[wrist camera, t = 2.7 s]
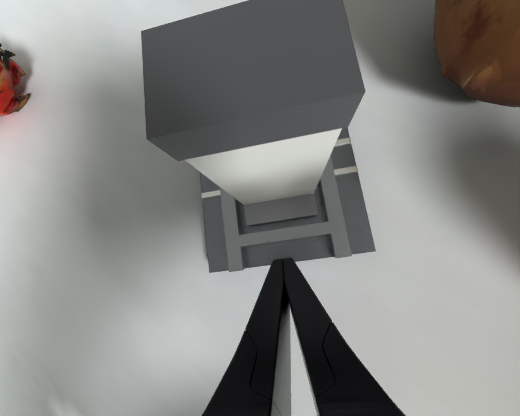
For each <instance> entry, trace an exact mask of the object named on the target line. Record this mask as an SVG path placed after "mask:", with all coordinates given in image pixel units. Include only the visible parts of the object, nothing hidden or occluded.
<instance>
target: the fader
mask: <svg viewBox="0 0 520 416" xmlns="http://www.w3.org/2000/svg"><path fill="white" fill-rule="evenodd" d="M141 37H142V56H143V76H144V95H145V115H146V134H147V140H149V141H150V142H152V143H153V144H155V145H156V146H157V147H159V148H160V149H162V150H163V151H164V152H166V153H167V154H169V155H170V156H172V157H173V158H174V159H176V160H177V161H181V160H185V161H186V162H187V163H189V164H190V165H191V166H193V167H194V168H195V169H197V170H198V171H199V172H201V173H202V174H203V175H205V176H206V177H207V178H209V179H210V180H211V181H213V182H214V183H215V184H217V185H218V186H219V187H221V188H222V189H223V190H225V191H226V192H227V193H229V194H230V195H231V196H233V197H234V198H235V199H237V200H238V201H239V202H241V203H242V204H243V205H244V210H245V217H246V225H247V226H256V225H262V224H268V223H275V222H281V221H288V220H294V219H301V218H307V217H314V216H317V215H318V213H317V208H316V203H315V197H314V192H315V189H316V187H317V185H318V182H319V180H320V178H321V176H322V173H323V171H324V169H325V166H326V164H327V162H328V159H329V157H330V155H331V153H332V150H333V148H334V146H335V143H336V141H337V139H338V137H339V134H340V132H341V130H342V128H346V127H348V126H349V124H350V122H351V120H352V118H353V116H354V114H355V112H356V109H357V107H358V105H359V103H360V101H361V99H362V97H363V95H364V93H365V88H364V84H363V80H362V76H361V72H360V68H359V64H358V60H357V56H356V52H355V48H354V45H353V41H352V37H351V33H350V29H349V25H348V21H347V17H346V13H345V9H344V5H343V1H342V0H248V1H245V2H241V3H238V4H234V5H231V6H227V7H224V8H220V9H217V10H213V11H210V12H206V13H203V14H199V15H196V16H192V17H189V18H185V19H182V20H178V21H175V22H171V23H168V24H165V25H161V26H158V27H154V28H151V29H147V30H144V31H141Z"/></svg>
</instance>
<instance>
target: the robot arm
mask: <svg viewBox="0 0 520 416" xmlns="http://www.w3.org/2000/svg"><path fill="white" fill-rule="evenodd" d="M289 304H290V305H289ZM290 309H291V313H292V317H293V321H294V325H295V329H296V333H297V337H298V341H299V345H300V349H301V352H302V356H303V360H304V364H305V368H306V372H307V376H308V380H309V384H310V388H311V392H312V396H313V400H314V404H315V408H316V412H317V416H406V415H405V414H404V413H403V412H402V411H401V410H400V409H399V408H398V407H397V406H396V404H395V403H394V402H393V401H392V400H391V399H390V397H389V396H388V395H387V394H386V393H385V391H384V390H383V389H382V388H381V386H380V385H379V384H378V383H377V381H376V380H375V379H374V378H373V376H372V375H371V374H370V373H369V371H368V370H367V369H366V368H365V366H364V365H363V364H362V363H361V361H360V360H359V359H358V357H357V356H356V355H355V353H354V352H353V351H352V349H351V348H350V347H349V346H348V344H347V343H346V341H345V340H344V338H343V337H342V335H341V334H340V332H339V331H338V329H337V328H336V326H335V325H334V323H332V320H331V318H330V317H329V315H328V314H327V312H326V311H325V309H324V307H323V306H322V304H321V303H320V301H319V300H318V298H317V296H316V295H315V293H314V292H313V290H312V289H311V287H310V285H309V284H308V282H307V281H306V279H305V278H304V276H303V274H302V273H301V271H300V270H299V268H298V267H297V265H296V263H295V262H294V260H293V259H292V258H291V257H289V258H283V260H282V259H274V260H273V262H272V264H271V267H270V269H269V272H268V274H267V277H266V279H265V282H264V284H263V287H262V289H261V291H260V294H259V296H258V299H257V301H256V304H255V306H254V309H253V311H252V314H251V316H250V319H249V321H248V324H247V326H246V329H245V330H246V331H244V333H243V336H242V338H241V341H240V343H239V345H238V348H237V350H236V352H235V354H234V356H233V358H232V360H231V362H230V364H229V366H228V368H227V370H226V372H225V374H224V376H223V378H222V380H221V382H220V383H219V385H218V387H217V389H216V391H215V393H214V395H213V397H212V398H211V400H210V402H209V404H208V406H207V408H206V409H205V411H204V413H203V414H202V416H291V358H290Z"/></svg>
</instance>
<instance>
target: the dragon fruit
mask: <svg viewBox="0 0 520 416" xmlns="http://www.w3.org/2000/svg"><path fill="white" fill-rule="evenodd" d="M3 38H4V37H3ZM1 46H2V45H1V44H0V47H1ZM1 56H3V60H2V58H1ZM12 56H15V54H14V53H12V52H10V51H7V50H5V52H3V50H2V49H1V48H0V116H1V115H8V114H10V113H12V112H14V111H16V112H18V111H19V110H20V109H21V108H22V107H23V106H24V105H25V104H26V102H27V99H28V96H29V94H30V93H28V94H26V95H22V96H20V97H19V98H15V97H13V96H14V94H15V91H14V89H13V87H14V86H16V85H17V84H18V83H19V82H20V77H21V76H23V75H26V74H25V73H24V72H23V70H22V69H21V68H20V67H19V66H18V65H17V64H16V63H15V62H14V61H13V60H12V59H9V58H10V57H12Z"/></svg>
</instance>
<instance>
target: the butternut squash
mask: <svg viewBox="0 0 520 416" xmlns="http://www.w3.org/2000/svg"><path fill="white" fill-rule="evenodd" d="M434 38H435V50H436V53H437V55H438V58H439V60H440V62H441V65H442V75H443V77H445V78H447V79H450V80H452V81H454V82H456V83H457V84H458V85H459V86H460V87H461V88H462V89H463V90H464V92H465V94H466V95H467V96H468V97H469V98H472V99H476V100H479V101H483V102H488V103H493V104H498V105H503V106H510V107H520V0H436V4H435V20H434Z"/></svg>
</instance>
